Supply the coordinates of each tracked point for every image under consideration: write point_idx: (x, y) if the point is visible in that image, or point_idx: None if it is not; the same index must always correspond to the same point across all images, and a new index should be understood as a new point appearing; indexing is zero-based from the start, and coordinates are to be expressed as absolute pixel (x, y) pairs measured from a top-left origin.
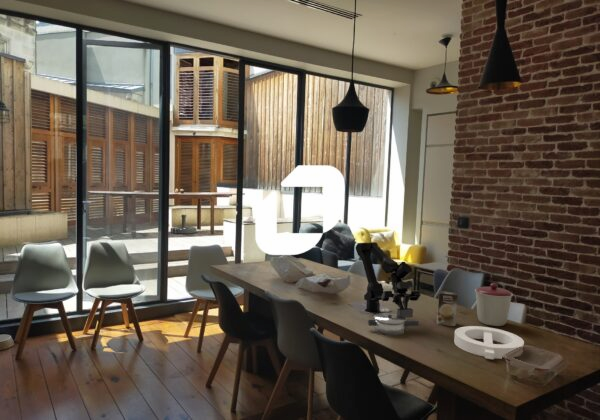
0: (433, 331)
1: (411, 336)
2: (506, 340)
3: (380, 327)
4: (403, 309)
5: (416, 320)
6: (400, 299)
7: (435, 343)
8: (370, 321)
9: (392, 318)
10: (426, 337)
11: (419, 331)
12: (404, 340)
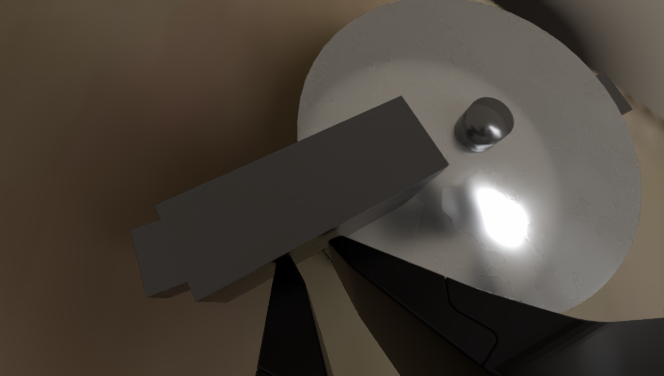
0: (3, 296)
1: (246, 101)
2: None
3: None
4: (344, 145)
5: (153, 255)
6: (536, 361)
7: (83, 12)
8: (597, 75)
9: (440, 105)
10: (125, 110)
11: None
12: (297, 20)
